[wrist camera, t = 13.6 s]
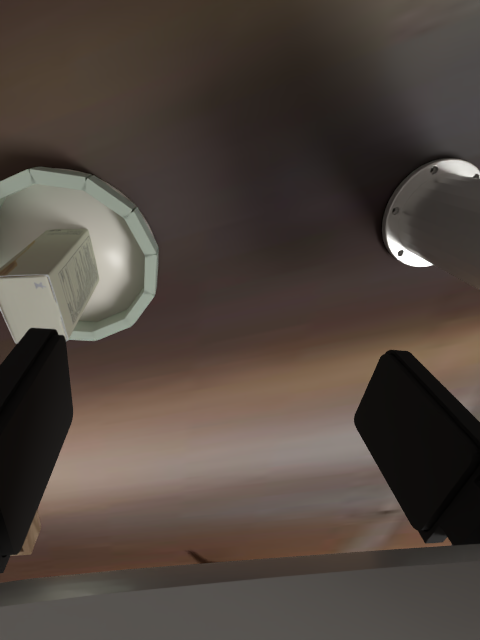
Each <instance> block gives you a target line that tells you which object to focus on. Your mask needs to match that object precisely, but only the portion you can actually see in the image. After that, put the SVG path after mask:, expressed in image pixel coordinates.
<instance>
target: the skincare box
mask: <svg viewBox="0 0 480 640" xmlns="http://www.w3.org/2000/svg"><path fill="white" fill-rule="evenodd" d="M98 282H99V274H98V269H97V264H96V259H95V255H94V251H93V247H92V242H91V239H90V235H89V231H88V230H87V229H54V230H46V231H45V232H44V233H43V234H41V235H40V236H39V237H38V238H36V239H35V240H34V241H33V242H32V243H30V244H29V245H28V246H27V247H26V248H24V249H23V250H22V251H20V252H19V253H18V254H17V255H16V256H14V257H13V258H12V259H11V260H10V261H8V262H7V263H6V264H5V265H3V266H2V267H1V268H0V310H1V312H2V315H3V317H4V319H5V322H6V324H7V326H8V329H9V331H10V333H11V335H12V337H13V339H14V342H15V343H18V342H19V341H20V340H21V339H22V337H23V336H24V335H25V334H26V332H27V331H28V330H29V329H30V328H45V329H56V330H57V332H58V335H64V336H65V340H66V341H68V340H69V338H70V336H71V334H72V332H73V330H74V328H75V326H76V324H77V322H78V320H79V318H80V317H81V315H82V313H83V311H84V309H85V307H86V305H87V303H88V301H89V300H90V298H91V296H92V294H93V292H94V290H95V288H96V286H97V284H98Z"/></svg>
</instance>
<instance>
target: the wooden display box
mask: <svg viewBox="0 0 480 640" xmlns="http://www.w3.org/2000/svg"><path fill="white" fill-rule="evenodd" d="M40 529H41V524H40V520H39V515H38V510H37V511H36V514H35V516H34V519H33V521H32V524H31V526H30V529H29V531H28V534H27V537H26V539H25V542H24V544H23V546H22V549H21V550H20V552H19V553H18V554H17V555H31V553H32V551H33V548H34V545H35V542H36V540H37V537H38V534H39V532H40ZM10 556H14V555H10Z"/></svg>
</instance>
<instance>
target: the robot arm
mask: <svg viewBox="0 0 480 640" xmlns="http://www.w3.org/2000/svg"><path fill="white" fill-rule="evenodd" d="M392 210H393V211H392ZM382 235H383V241H384V244H385V246H386V248H387V250H388V251H389V253H390V254H391V255H392V256H393V257H394V258H395V259H397V260H398V261H400V262H402V263H403V264H406V265H409V266H414V267H425V266H430V265H435V266H436V267H438V268H440V269H442V270H444V271H446V272H447V273H449V274H451V275H453V276H455V277H457V278H458V279H460V280H462V281H464V282H466V283H467V284H469V285H471V286H473V287H475V288H477V289H478V290H480V171H479V169H478V168H477V167H476V166H474V165H473V164H471V163H470V162H467V161H465V160H462V159H454V158H444V159H438V160H434V161H431V162H429V163H427V164H424V165H422V166H420V167H419V168H417V169H416V170H415V171H413V172H412V173H410V174H409V175H408V176H407V177H406V178H405V179H404V180H403V181H402V182H401V183H400V185H399V186H398V187H397V188H396V190H395V191H394V193H393V195H392V196H391V198H390V200H389V202H388V204H387V207H386V209H385V212H384V216H383V221H382ZM72 418H73V405H72V395H71V386H70V377H69V367H68V358H67V348H66V340H65V336H64V335H58V332H57V330H56V329H45V328H30V329H29V330H28V331H27V332H26V334H25V335H24V336H23V337H22V339H21V340H20V341H19V342H18V344H17V345H16V346H15V347H14V349H13V350H12V351H11V352H10V354H9V355H8V356H7V357H6V359H5V360H4V361H3V363H2V364H1V365H0V573H3V572H4V570H5V567H6V565H7V562H8V560H9V558H10V555H17V554H18V553H19V552H20V550H21V549H22V546H23V544H24V542H25V539H26V537H27V534H28V531H29V529H30V526H31V524H32V521H33V519H34V516H35V514H36V511H37V509H38V506H39V504H40V501H41V499H42V496H43V493H44V491H45V488H46V486H47V483H48V481H49V478H50V476H51V473H52V471H53V468H54V466H55V463H56V461H57V458H58V456H59V453H60V450H61V448H62V445H63V443H64V440H65V438H66V435H67V433H68V430H69V428H70V425H71V422H72ZM354 423H355V426H356V428H357V430H358V432H359V434H360V435H361V437H362V439H363V441H364V442H365V444H366V446H367V448H368V450H369V451H370V453H371V455H372V457H373V458H374V460H375V462H376V464H377V465H378V467H379V469H380V471H381V472H382V474H383V476H384V478H385V480H386V481H387V483H388V485H389V487H390V488H391V490H392V492H393V494H394V495H395V497H396V499H397V501H398V502H399V504H400V506H401V508H402V510H403V511H404V513H405V515H406V517H407V518H408V520H409V522H410V524H411V525H412V526H413V528H415V529H416V530H418V532H419V533H420V535H421V537H422V538H423V540H424V542H425V543H439V542H443V541H444V540H445V539H446V538H447V537H448V538H449V540H450V542H451V543H452V545H451V546H440V547H424V548H409V549H394V550H380V551H366V552H352V553H338V554H324V555H310V556H296V557H283V558H269V559H255V560H242V561H230V562H217V563H204V564H191V565H178V566H166V567H153V568H140V569H127V570H116V571H106V572H96V573H85V574H75V575H64V576H54V577H44V578H33V579H26V580H19V581H12V582H5V583H0V640H480V422H479V421H478V420H477V419H476V418H475V417H474V416H473V415H472V414H471V413H470V412H469V411H468V410H467V409H466V408H465V407H464V406H463V405H462V404H461V403H460V402H459V401H458V400H457V399H456V398H455V397H454V396H453V395H452V394H451V393H450V392H449V391H448V390H447V389H446V388H445V387H444V386H443V385H442V384H441V383H440V382H439V381H438V380H437V379H436V378H435V377H434V376H433V375H432V374H431V373H430V372H429V371H428V370H427V369H426V368H425V367H424V366H423V365H422V364H421V363H420V362H419V361H418V360H417V359H416V358H415V357H414V356H413V355H412V354H411V353H410V352H408V351H399V350H389V351H387V352H386V353H385V354H384V355H382V356H381V357H380V359H379V362H378V364H377V366H376V368H375V371H374V373H373V375H372V377H371V380H370V382H369V384H368V386H367V389H366V391H365V393H364V395H363V398H362V400H361V402H360V404H359V407H358V409H357V411H356V413H355V416H354Z"/></svg>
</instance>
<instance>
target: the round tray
mask: <svg viewBox="0 0 480 640" xmlns="http://www.w3.org/2000/svg"><path fill="white" fill-rule="evenodd" d="M54 229H87V230H88V231H89V235H90V239H91V242H92V247H93V251H94V255H95V259H96V264H97V269H98V274H99V282H98V284H97V286H96V288H95V290H94V292H93V294H92V296H91V298H90V300H89V301H88V303H87V305H86V307H85V309H84V311H83V313H82V315H81V317H80V318H79V320H78V322H77V324H76V326H75V328H74V330H73V332H72V334H71V336H70V338H69V340H86V341H95V340H96V341H97V340H99V339H102V338H104V337H106V336H109V335H111V334H114V333H116V332H119V331H121V330H124V329H126V328H129V327H131V326H132V325H134V323H135V322H136V321H137V319H138V318H139V316H140V315H141V314H142V312H143V311H144V310H145V308H146V307H147V306H148V304H149V303H150V302H151V300H152V299H153V298H154V296H155V293H156V288H157V272H158V250H159V248H158V245H157V243H156V241H155V238H154V235H153V233H152V231H151V228H150V226H149V224H148V223H147V221H146V219H145V218H144V216H143V214H142V213H141V212H140V211H139V209H138V207H136V205H135V204H134V203H133V202H132V201H131V200H130V199H129V198H128V197H127V196H125V195H124V194H123V193H122V192H120V191H119V190H118V189H116V188H115V187H113V186H112V185H110V184H109V183H107V182H105V181H103V180H101V179H99V178H97V177H96V176H94V175H93V176H92V174H87V173H84V172H80V171H75V170H71V169H61V168H47V167H41V166H40V167H34V168H30V169H27V170H25V171H22V172H20V173H18V174H16V175H13V176H11V177H9V178H7V179H5V180H2V181H0V268H1V267H2V266H3V265H5V264H6V263H7V262H8V261H10V260H11V259H12V258H13V257H14V256H16V255H17V254H18V253H19V252H20V251H22V250H23V249H24V248H26V247H27V246H28V245H29V244H30V243H32V242H33V241H34V240H35V239H36V238H38V237H39V236H40V235H41V234H43V233H44V232H45V231H46V230H54ZM0 311H1V310H0Z"/></svg>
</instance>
